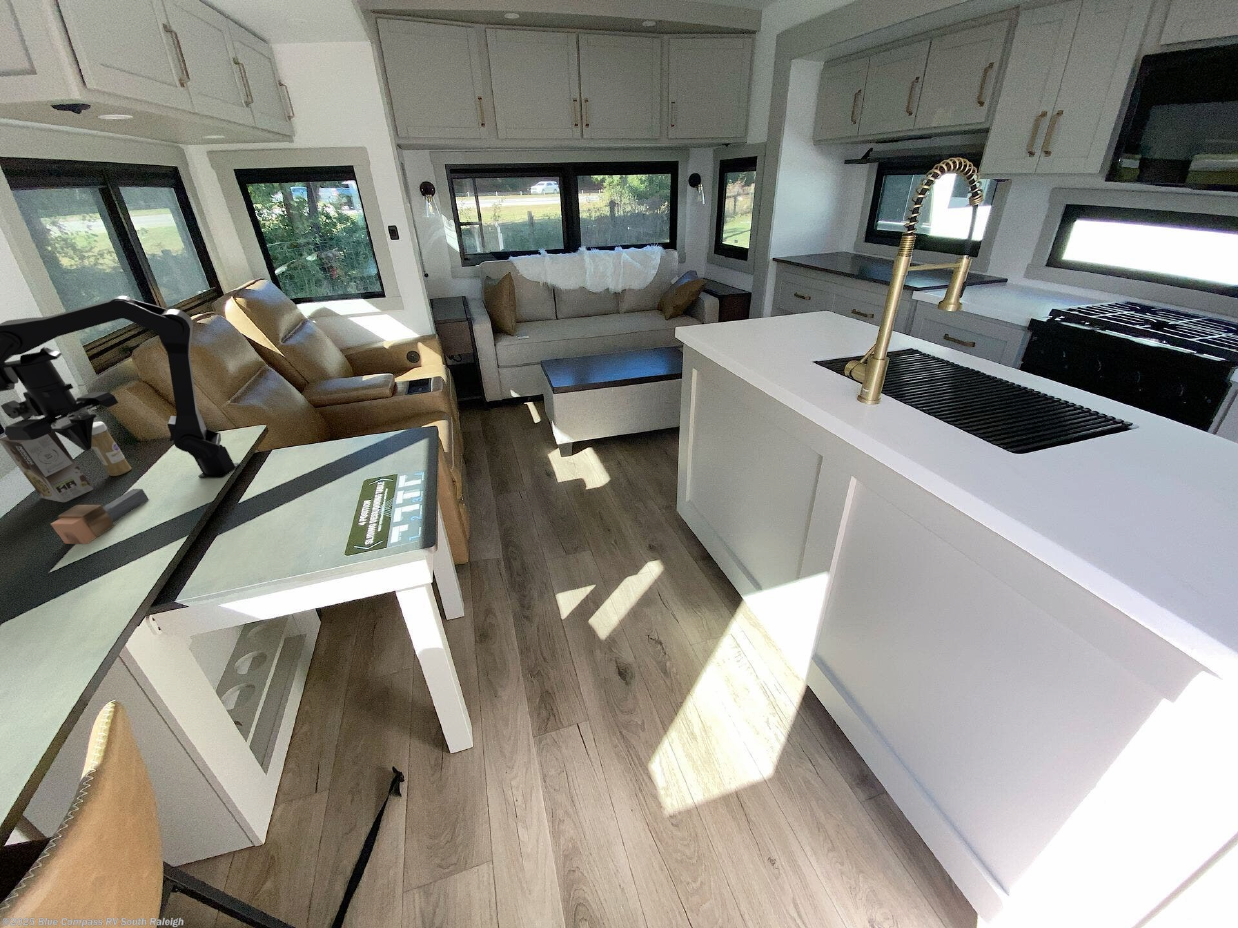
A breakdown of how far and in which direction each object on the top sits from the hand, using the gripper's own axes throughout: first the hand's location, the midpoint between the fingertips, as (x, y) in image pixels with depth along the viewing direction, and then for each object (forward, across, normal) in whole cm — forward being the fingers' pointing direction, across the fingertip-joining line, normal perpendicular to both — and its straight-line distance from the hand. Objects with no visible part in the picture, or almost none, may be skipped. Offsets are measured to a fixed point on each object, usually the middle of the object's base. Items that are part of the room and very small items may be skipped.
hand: (87, 449), depth 114 cm
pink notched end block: (+13, +16, +7) cm, 21 cm away
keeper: (+13, +12, +7) cm, 19 cm away
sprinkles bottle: (+13, -12, -12) cm, 21 cm away
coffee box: (+13, -2, -16) cm, 21 cm away
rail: (+13, +8, +7) cm, 17 cm away
